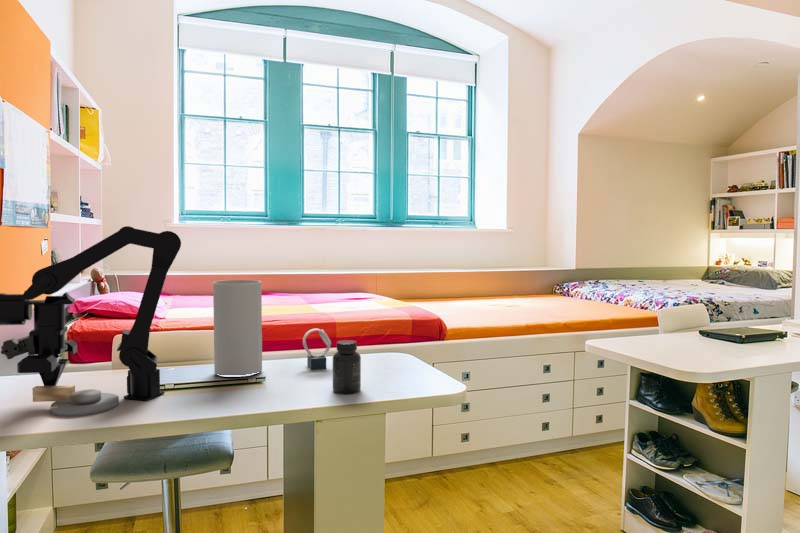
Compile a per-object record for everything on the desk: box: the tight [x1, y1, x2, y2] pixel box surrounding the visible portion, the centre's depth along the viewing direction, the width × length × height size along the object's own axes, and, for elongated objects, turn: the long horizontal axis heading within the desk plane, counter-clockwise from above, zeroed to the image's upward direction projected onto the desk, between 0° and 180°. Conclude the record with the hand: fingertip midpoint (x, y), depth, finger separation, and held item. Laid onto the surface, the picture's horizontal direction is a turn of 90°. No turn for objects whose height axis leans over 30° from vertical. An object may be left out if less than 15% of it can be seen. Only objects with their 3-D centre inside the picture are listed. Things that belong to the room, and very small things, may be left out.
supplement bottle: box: [332, 339, 362, 395], centre depth 136 cm, size 7×7×12 cm
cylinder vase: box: [212, 279, 263, 375], centre depth 151 cm, size 12×12×25 cm
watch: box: [302, 328, 332, 371], centre depth 159 cm, size 6×8×11 cm
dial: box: [32, 384, 102, 405], centre depth 122 cm, size 14×6×3 cm, turn 96°
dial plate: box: [49, 392, 120, 418], centre depth 122 cm, size 13×13×1 cm
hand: (49, 393), depth 123 cm, fingers closed
